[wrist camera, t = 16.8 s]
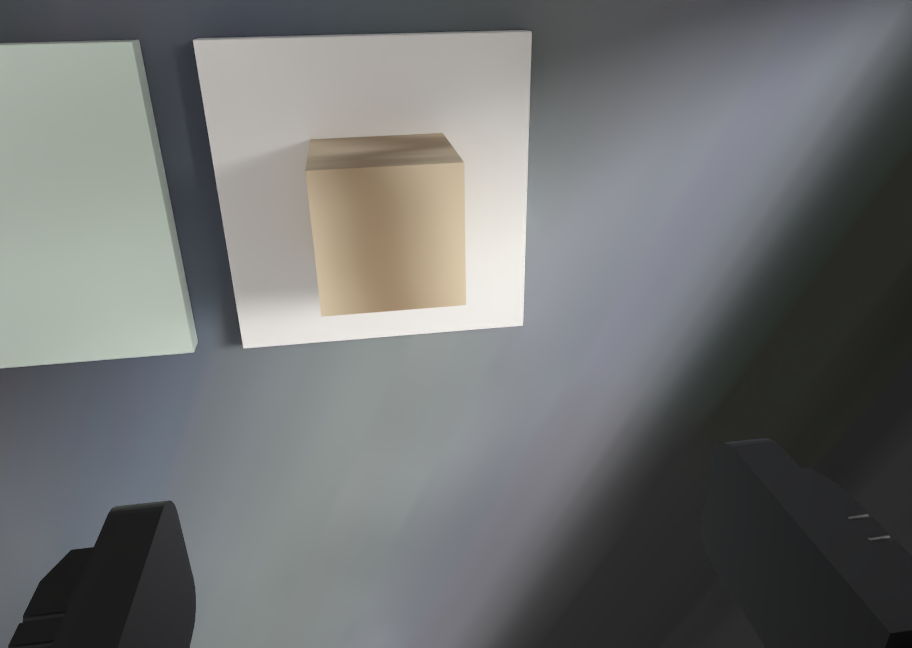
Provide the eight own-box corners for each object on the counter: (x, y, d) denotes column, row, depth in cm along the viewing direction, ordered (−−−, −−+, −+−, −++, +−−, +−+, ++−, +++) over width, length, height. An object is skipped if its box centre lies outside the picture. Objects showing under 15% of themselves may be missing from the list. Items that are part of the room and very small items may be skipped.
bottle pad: (139, 39, 25) (132, 41, 24) (197, 341, 30) (193, 352, 29) (-242, 49, 23) (-264, 51, 22) (-110, 366, 29) (-124, 378, 28)
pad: (525, 29, 27) (532, 31, 26) (517, 316, 32) (522, 325, 31) (197, 38, 25) (192, 40, 24) (246, 337, 30) (243, 348, 30)
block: (442, 133, 27) (464, 162, 23) (445, 256, 29) (465, 305, 25) (310, 139, 26) (305, 170, 22) (323, 264, 29) (321, 316, 24)
